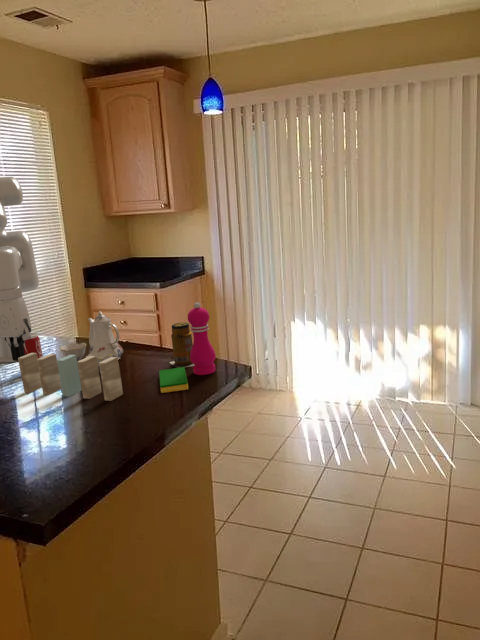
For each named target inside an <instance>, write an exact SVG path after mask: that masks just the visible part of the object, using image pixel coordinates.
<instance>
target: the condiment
mask: <svg viewBox="0 0 480 640" xmlns="http://www.w3.org/2000/svg"><path fill="white" fill-rule="evenodd" d="M192 334H193V333H192V331H191V327H190V323H189V322H177V323H173V324H172V325H171V334H170V335H171V336H170V337H171V345H172V354H173V361H170V362H168V363H169V364H170V365H172V366H173V367H175V368H181V367H185V368H189V367H193V366H194V364H193V363H192V362H191V360H190V353H191V349H192V346H193V342H194V341H193V335H192Z"/></svg>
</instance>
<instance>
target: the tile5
mask: <svg viewBox="0 0 480 640" xmlns="http://www.w3.org/2000/svg"><path fill="white" fill-rule="evenodd" d="M99 366H100V372H99V374H100V380H101V387H102V393H103V397H104V401H105V402H106V401H107V402H108V401H109V402H111V401H113V400H115V399H117V398H119V397H120V396H122V395H123V394H124V391H123V385H122V384H123V383H122V376H121V370H120V364H119V361H118V357H111V358H108V359H106V360H104V361H102V362H100V363H99Z"/></svg>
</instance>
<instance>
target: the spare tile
mask: <svg viewBox="0 0 480 640" xmlns="http://www.w3.org/2000/svg"><path fill="white" fill-rule="evenodd" d="M57 363H58V369H59V375H60V380H61V386H62V389H61V390H62V391H61V392H62V397H67V398H69V397H71V396H74V395H76V394H78V393H80V392H81V391H82V387H81V380H80V374H79V368H78V362H77V358H76V355H68V356H66V357H64V356H63V357H61V358H60V359H57Z"/></svg>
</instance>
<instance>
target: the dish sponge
mask: <svg viewBox="0 0 480 640" xmlns="http://www.w3.org/2000/svg"><path fill="white" fill-rule="evenodd" d="M185 368H186V367H181V368H177V367H175V368H168V369H167V368H166V369H161V370H159V371H158V373H159V387H160V388H159V389H160V393H161V394H164V393H170V392H178V391H185V390H189V381H188V376H187V372H186V369H185Z"/></svg>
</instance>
